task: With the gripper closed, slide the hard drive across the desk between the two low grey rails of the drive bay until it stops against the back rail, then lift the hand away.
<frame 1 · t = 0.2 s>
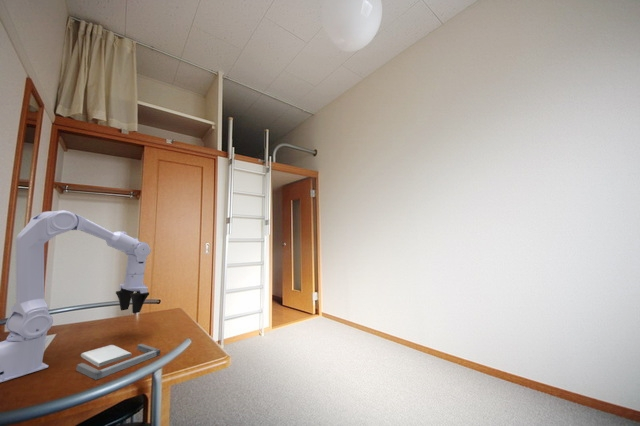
hand: (130, 311, 90), 10 cm above the table, tool pointing down, fingers open, 7 cm apart
hard drive: (105, 358, 76), on the table
drive bay: (120, 362, 72), on the table
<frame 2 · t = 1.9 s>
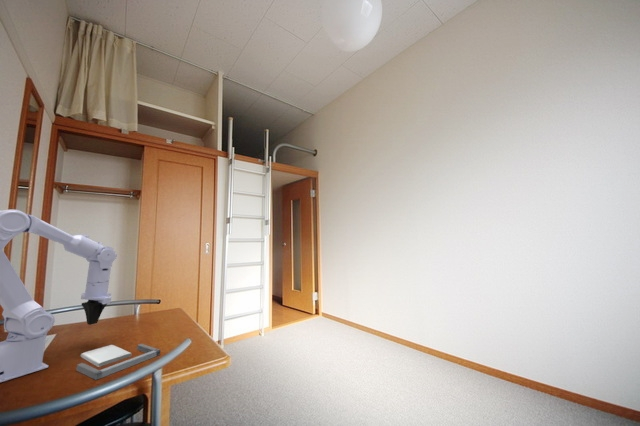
hand: (92, 323, 81), 8 cm above the table, tool pointing down, fingers closed
nothing on the table moved.
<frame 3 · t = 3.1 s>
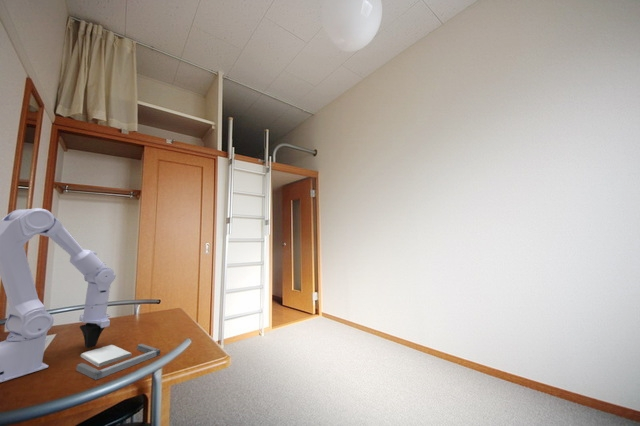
hand: (90, 346, 80), 1 cm above the table, tool pointing down, fingers closed
nothing on the table moved.
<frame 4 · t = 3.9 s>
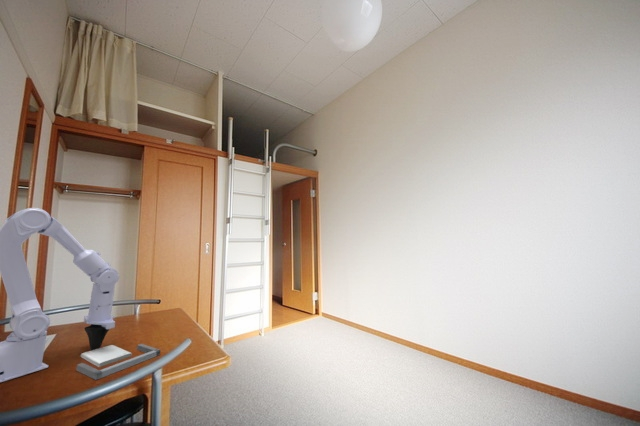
hand: (95, 348, 79), 1 cm above the table, tool pointing down, fingers closed
hard drive: (106, 359, 75), on the table, touching gripper
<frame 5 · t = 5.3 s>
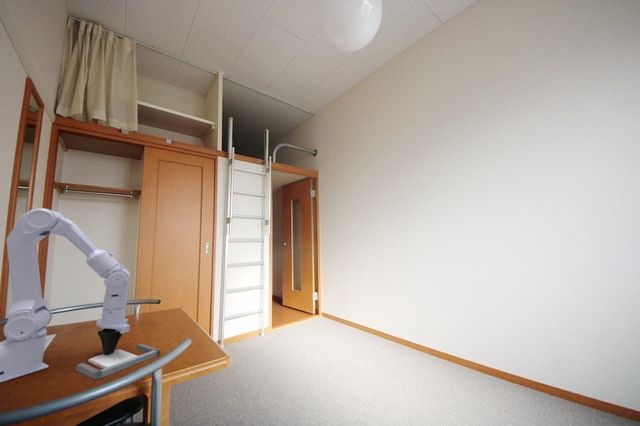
hand: (108, 353, 75), 1 cm above the table, tool pointing down, fingers closed
hard drive: (115, 364, 73), on the table
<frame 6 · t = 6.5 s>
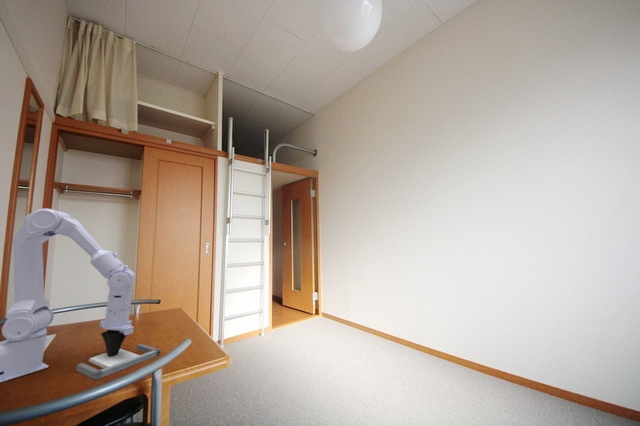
hand: (112, 355, 74), 1 cm above the table, tool pointing down, fingers closed
nothing on the table moved.
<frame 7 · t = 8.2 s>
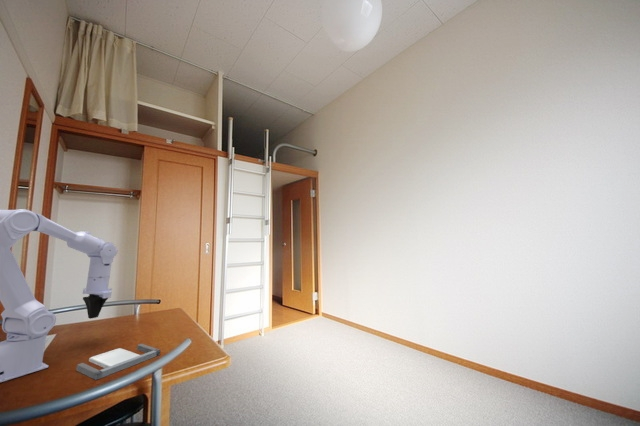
hand: (93, 317, 83), 9 cm above the table, tool pointing down, fingers closed
nothing on the table moved.
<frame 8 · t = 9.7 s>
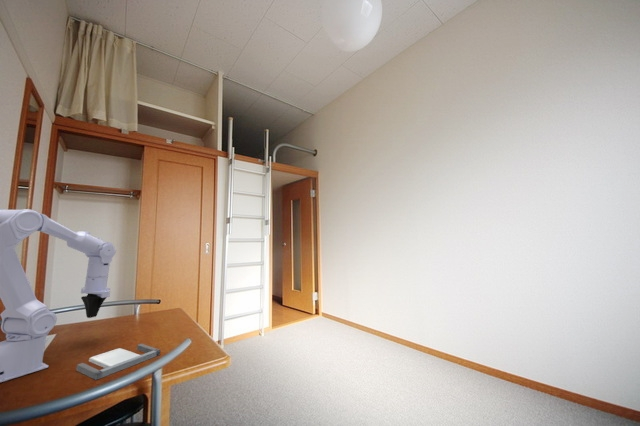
hand: (91, 317, 84), 9 cm above the table, tool pointing down, fingers closed
nothing on the table moved.
at the end: hard drive 2.0 cm off-centre on the drive bay, point -0.8 cm above the drive bay's base; hard drive moved 5.6 cm from its start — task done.
